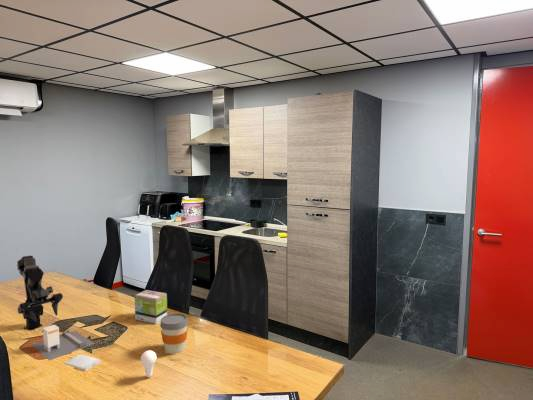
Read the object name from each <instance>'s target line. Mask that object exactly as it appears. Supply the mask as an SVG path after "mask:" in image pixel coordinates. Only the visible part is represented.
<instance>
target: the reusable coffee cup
mask: <svg viewBox="0 0 533 400" xmlns="http://www.w3.org/2000/svg"><path fill="white" fill-rule="evenodd" d="M188 325H189V319H188V316H187V315H186V314H184V313H169V314H167V315H166V316H164V317H163V318H162V319H161V322H160V328H161V332H160V333H161V339H162V343H163V346H164V351H165V353H166V354H168V353H169V355H177V354H176V353H178V354H181V353H183V352H184V351H185V347H186V340H187V338H188V337H187V336H188ZM183 350H184V351H183ZM180 352H181V353H180Z"/></svg>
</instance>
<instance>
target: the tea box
mask: <svg viewBox="0 0 533 400" xmlns="http://www.w3.org/2000/svg"><path fill="white" fill-rule="evenodd" d="M134 315H135V316H134V317H135V320H136V321H141V322H145V323H148V324H149V323H150V324H152V325H153V324H154V325H158V324H159V323H161V319H162V318H163V317H164V316H166V315H168V294H167V292H162V291H161V292H160V291H156V290H155V291H154V290H148V289H144V290H143V291H141V292H139V293H137V294H134Z"/></svg>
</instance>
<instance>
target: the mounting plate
mask: <svg viewBox="0 0 533 400" xmlns="http://www.w3.org/2000/svg"><path fill="white" fill-rule="evenodd" d="M69 333H70V334H71V335H73V336H74V337H76V338H77V339H79V340H80V341H82V342H85V341H86V346H84V347H81V348H79V345H77V344H76V343H75V342H73V341H72V340H70V339H69V338H67V337H66V336H62V334H59V340H60V348H58V349H57V348H56V347H55V346H52V347H50V348H51V351H50V352H48V351H47V350H45V349H44V340H43V341H39V342H36V343H33V344H31V346H32V347H33V348H34V349H36V350H37V351H38V353H41V355H42V356H44V357H45V358H46V359H48V361H52V360H54V359H57V358H61V357H63V356H66V355H68V354H71V353H73V352H77V351H78V350H82V349H84V348H86V347H89V346H92V345H95V342H93V341H92V340H91V339H89V338H87V337H85V336H84V335H83V334H81V333H79V332H78V331H76V330H73V331H69Z"/></svg>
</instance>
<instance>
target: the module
mask: <svg viewBox="0 0 533 400" xmlns="http://www.w3.org/2000/svg"><path fill="white" fill-rule="evenodd" d="M42 332H43V333H42V334H43V341H44V349H45V350H47V351H48V352H50V351H51V348H50V347H52V346H55V347H56V348H57V349H58V348H60V340H59V336H60V328H59V326H58V325H56V324H52V325H51V324H50V325H49V326H45V327H42Z"/></svg>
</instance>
